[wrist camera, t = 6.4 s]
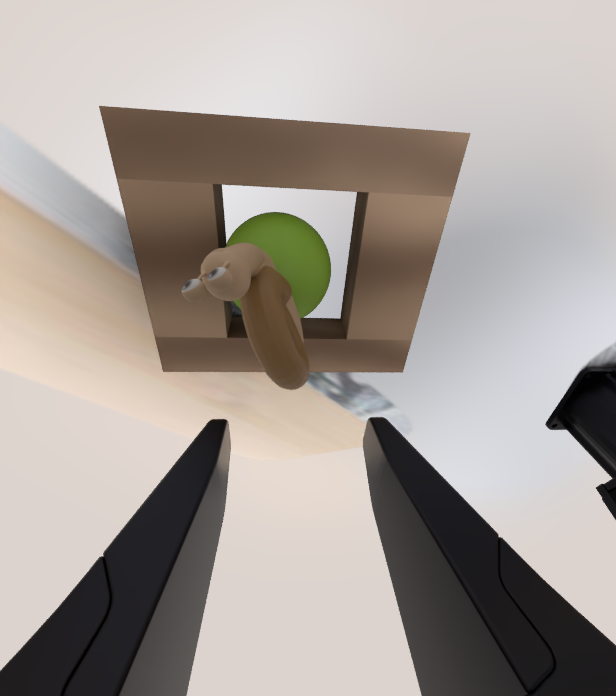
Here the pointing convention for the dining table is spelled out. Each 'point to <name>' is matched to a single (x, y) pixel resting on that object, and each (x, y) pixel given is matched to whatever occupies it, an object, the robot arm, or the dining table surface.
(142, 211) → the block
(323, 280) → the snail figurine
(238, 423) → the dining table surface
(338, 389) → the dining table surface
